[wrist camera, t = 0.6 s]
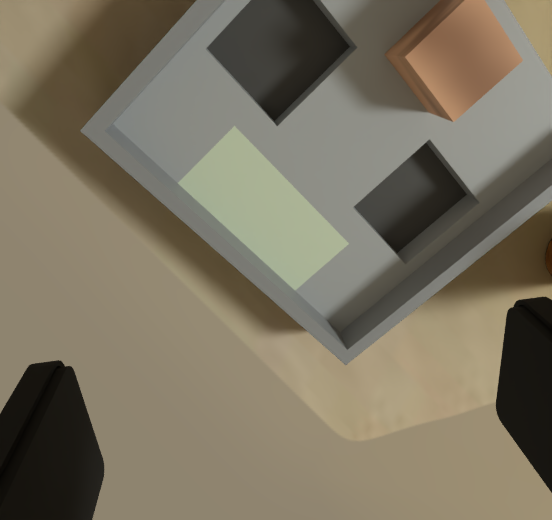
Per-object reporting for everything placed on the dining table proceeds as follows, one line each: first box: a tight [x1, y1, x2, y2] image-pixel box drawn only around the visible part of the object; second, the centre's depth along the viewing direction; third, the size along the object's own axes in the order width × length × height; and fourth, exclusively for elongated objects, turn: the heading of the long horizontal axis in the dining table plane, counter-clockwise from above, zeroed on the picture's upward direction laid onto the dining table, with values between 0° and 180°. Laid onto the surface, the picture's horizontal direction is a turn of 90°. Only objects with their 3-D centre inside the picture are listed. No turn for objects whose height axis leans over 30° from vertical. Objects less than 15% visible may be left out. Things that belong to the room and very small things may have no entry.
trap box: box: [80, 0, 552, 365], centre depth 33 cm, size 24×25×5 cm
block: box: [384, 0, 523, 122], centre depth 30 cm, size 5×5×4 cm
